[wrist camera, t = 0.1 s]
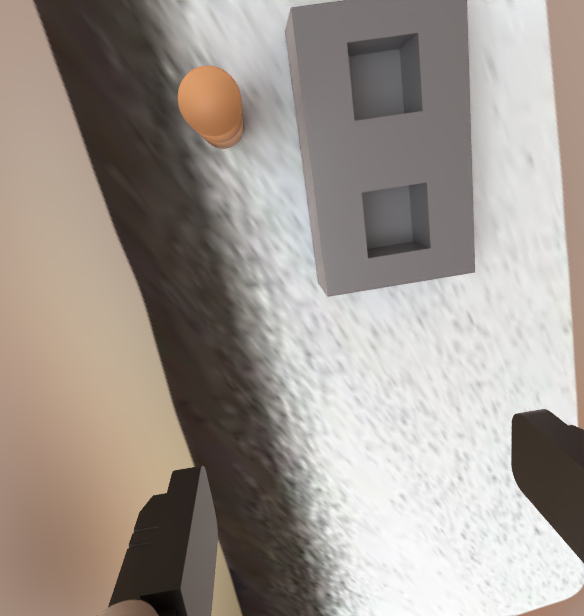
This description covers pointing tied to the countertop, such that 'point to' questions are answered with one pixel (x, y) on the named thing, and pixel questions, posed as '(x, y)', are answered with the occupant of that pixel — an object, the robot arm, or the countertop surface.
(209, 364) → the countertop surface
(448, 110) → the hole block
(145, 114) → the countertop surface
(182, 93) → the peg
